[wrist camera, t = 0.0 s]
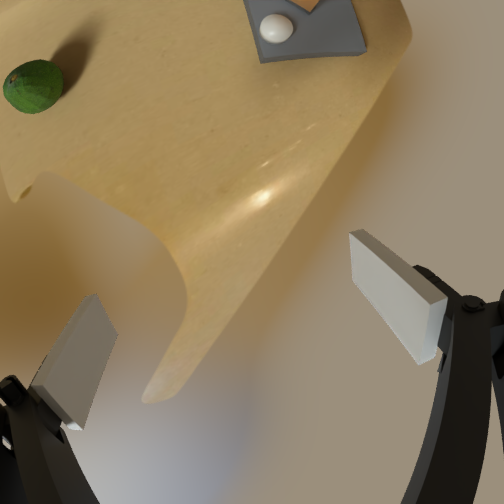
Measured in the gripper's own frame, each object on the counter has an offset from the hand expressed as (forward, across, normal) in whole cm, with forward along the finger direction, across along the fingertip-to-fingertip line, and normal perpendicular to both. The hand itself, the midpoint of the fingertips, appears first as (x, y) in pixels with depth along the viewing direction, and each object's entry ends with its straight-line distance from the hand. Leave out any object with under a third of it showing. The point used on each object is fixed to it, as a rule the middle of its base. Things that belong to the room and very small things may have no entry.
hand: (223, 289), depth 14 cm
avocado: (+28, -21, +23) cm, 42 cm away
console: (+28, +17, +25) cm, 41 cm away
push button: (+25, +11, +20) cm, 34 cm away
